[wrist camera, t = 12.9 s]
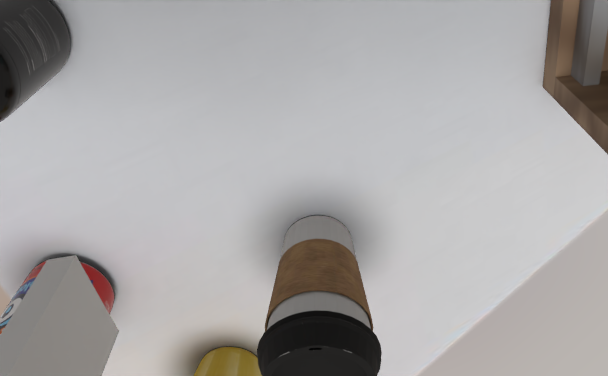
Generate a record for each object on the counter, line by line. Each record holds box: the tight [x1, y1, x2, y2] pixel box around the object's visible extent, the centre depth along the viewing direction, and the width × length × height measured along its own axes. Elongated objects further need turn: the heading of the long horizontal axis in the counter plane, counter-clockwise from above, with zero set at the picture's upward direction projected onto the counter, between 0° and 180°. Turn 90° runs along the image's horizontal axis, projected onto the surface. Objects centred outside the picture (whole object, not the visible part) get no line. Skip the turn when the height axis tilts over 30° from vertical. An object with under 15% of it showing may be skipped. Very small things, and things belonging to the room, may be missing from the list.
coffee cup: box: [257, 215, 381, 376], centre depth 41 cm, size 8×8×15 cm
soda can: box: [0, 261, 114, 335], centre depth 44 cm, size 8×8×15 cm
